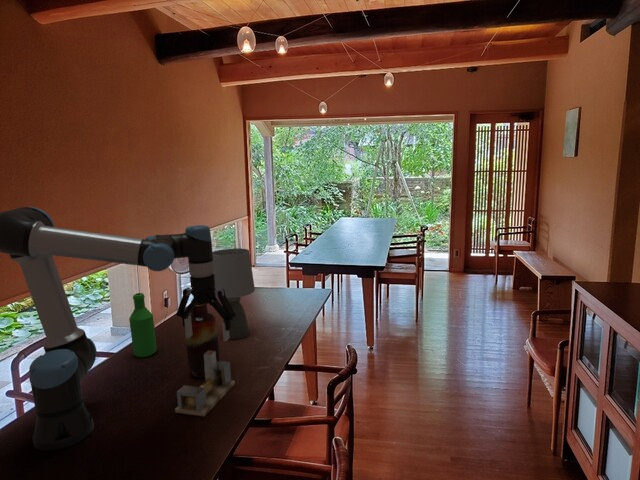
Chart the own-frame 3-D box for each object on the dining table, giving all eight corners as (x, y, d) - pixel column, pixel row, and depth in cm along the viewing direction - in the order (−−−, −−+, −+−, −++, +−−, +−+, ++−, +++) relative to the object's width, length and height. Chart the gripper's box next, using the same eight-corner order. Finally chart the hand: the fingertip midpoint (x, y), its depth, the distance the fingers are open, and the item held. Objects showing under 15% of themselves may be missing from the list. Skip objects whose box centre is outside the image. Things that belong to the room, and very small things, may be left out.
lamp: (207, 342, 192) (199, 256, 186) (226, 326, 210) (219, 247, 204) (248, 344, 188) (241, 257, 181) (264, 327, 206) (258, 247, 199)
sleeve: (200, 412, 136) (198, 394, 135) (178, 409, 138) (176, 391, 137) (206, 405, 140) (205, 387, 139) (185, 402, 142) (184, 385, 141)
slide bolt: (195, 409, 137) (191, 372, 135) (185, 408, 138) (181, 370, 136) (224, 381, 154) (221, 347, 152) (214, 380, 155) (211, 346, 153)
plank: (204, 416, 136) (203, 412, 136) (175, 412, 139) (174, 408, 138) (235, 384, 155) (234, 380, 154) (208, 381, 157) (208, 378, 157)
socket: (225, 386, 151) (223, 367, 150) (205, 384, 153) (204, 365, 152) (231, 380, 155) (229, 361, 154) (211, 378, 157) (210, 360, 156)
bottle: (149, 358, 178) (141, 297, 174) (129, 357, 180) (121, 297, 176) (161, 349, 187) (154, 291, 182) (142, 348, 189) (135, 290, 184)
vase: (189, 381, 158) (181, 309, 153) (189, 368, 168) (182, 300, 164) (221, 376, 161) (215, 305, 156) (219, 363, 171) (213, 296, 167)
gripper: (243, 272, 143) (248, 336, 147) (174, 270, 151) (180, 331, 154) (232, 278, 136) (237, 345, 140) (160, 276, 144) (167, 339, 147)
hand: (207, 338), depth 147 cm, fingers open, 13 cm apart
